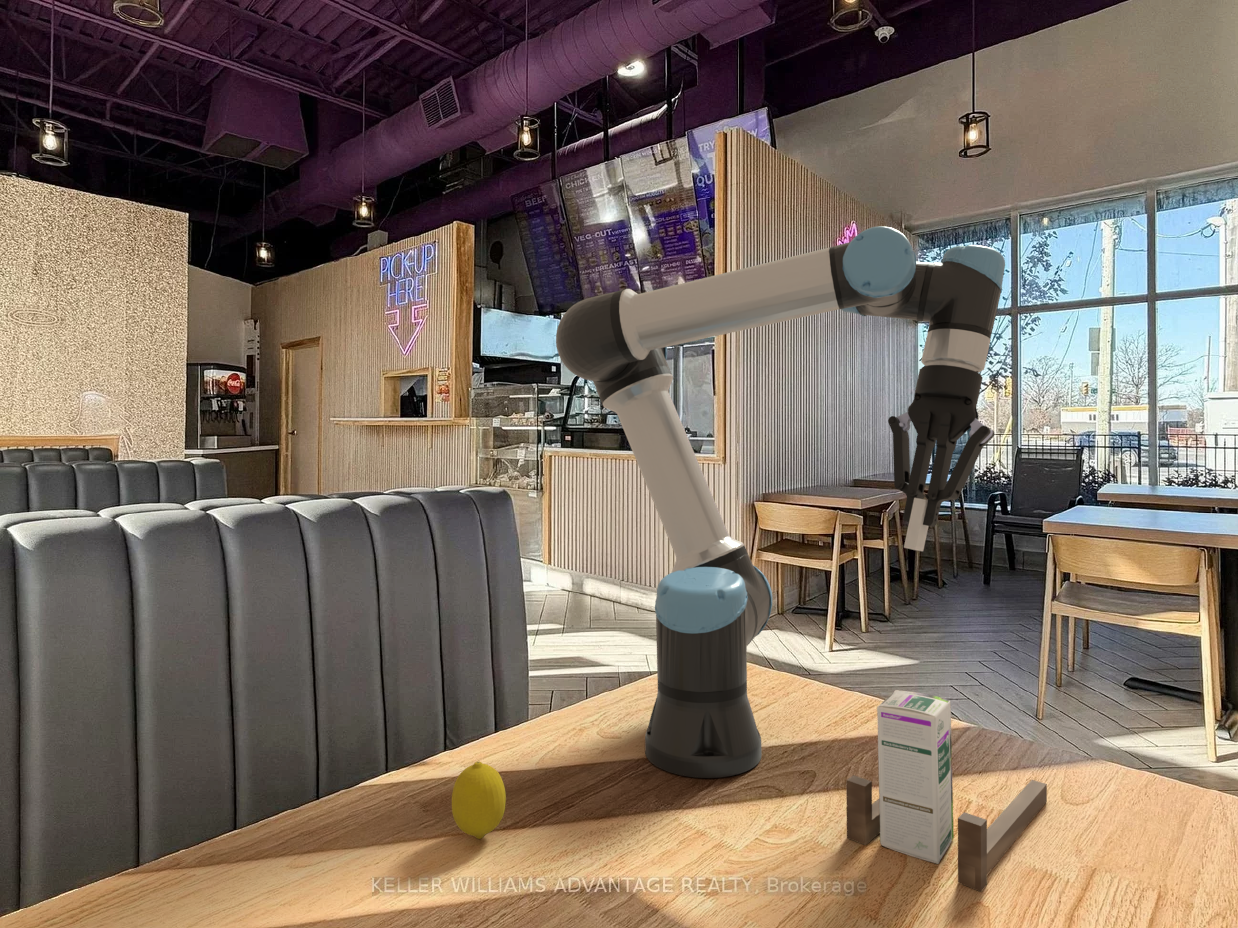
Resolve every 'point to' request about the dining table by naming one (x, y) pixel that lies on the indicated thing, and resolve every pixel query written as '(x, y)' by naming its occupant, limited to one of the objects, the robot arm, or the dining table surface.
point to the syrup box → (915, 774)
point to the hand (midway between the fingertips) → (913, 549)
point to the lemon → (478, 800)
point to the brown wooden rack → (974, 839)
